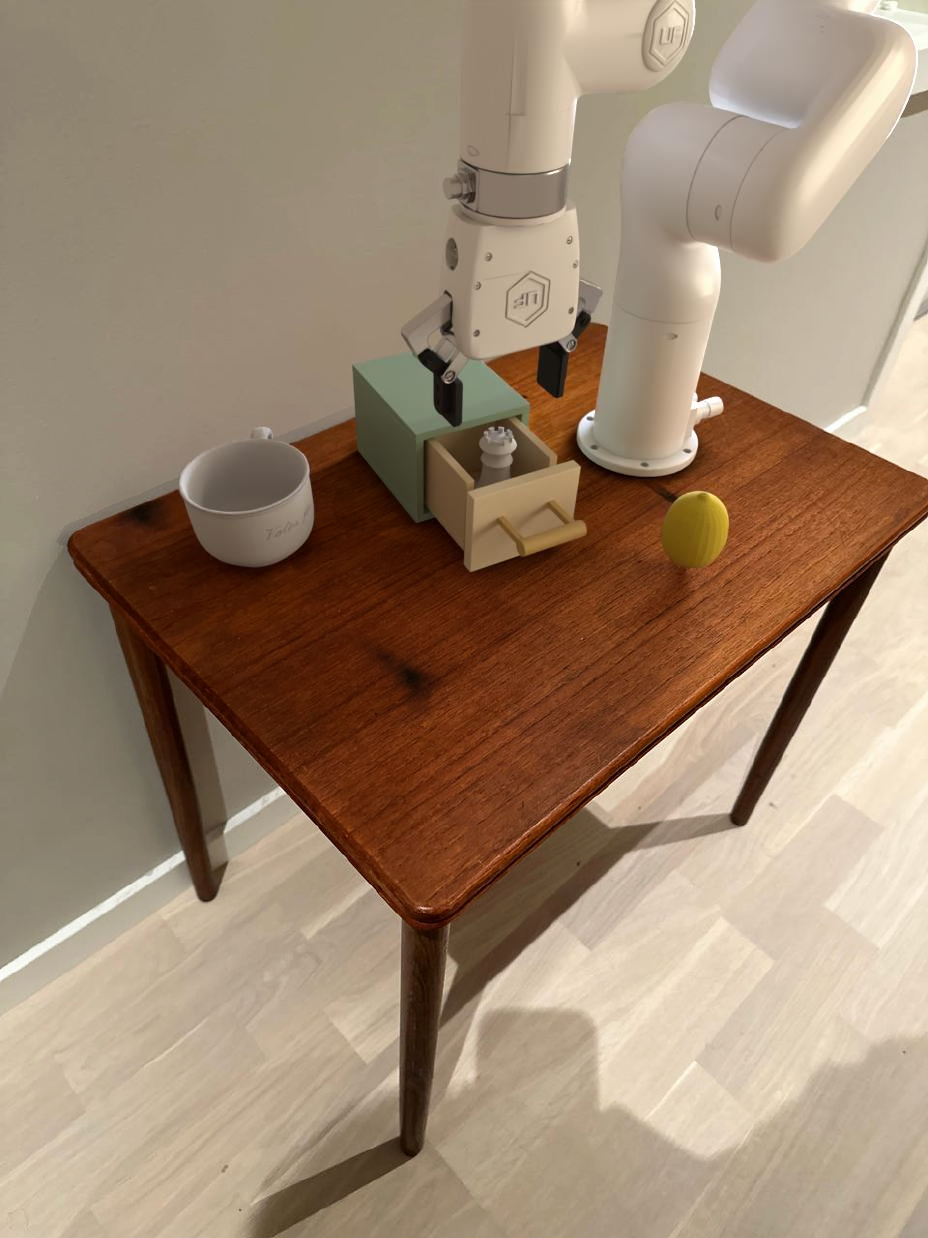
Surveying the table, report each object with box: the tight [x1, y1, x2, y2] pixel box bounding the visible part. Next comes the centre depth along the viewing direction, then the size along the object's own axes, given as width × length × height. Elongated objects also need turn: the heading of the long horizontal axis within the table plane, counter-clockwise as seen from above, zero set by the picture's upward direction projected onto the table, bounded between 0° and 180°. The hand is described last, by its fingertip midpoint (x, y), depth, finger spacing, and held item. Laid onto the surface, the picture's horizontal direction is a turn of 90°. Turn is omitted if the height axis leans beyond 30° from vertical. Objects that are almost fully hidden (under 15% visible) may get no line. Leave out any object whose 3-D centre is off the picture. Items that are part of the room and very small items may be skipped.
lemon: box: [660, 490, 730, 569], centre depth 75 cm, size 6×6×8 cm
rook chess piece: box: [474, 426, 517, 490], centre depth 77 cm, size 4×4×8 cm
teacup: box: [177, 426, 315, 568], centre depth 76 cm, size 14×11×8 cm
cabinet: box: [351, 345, 531, 524], centre depth 84 cm, size 14×12×10 cm
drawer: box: [423, 416, 588, 573], centre depth 76 cm, size 17×10×8 cm, turn 29°
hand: (500, 403), depth 72 cm, fingers open, 9 cm apart
